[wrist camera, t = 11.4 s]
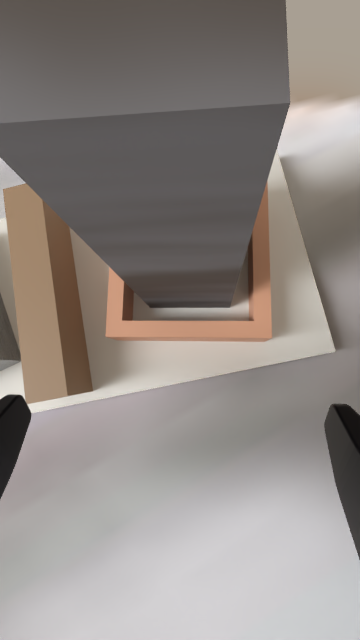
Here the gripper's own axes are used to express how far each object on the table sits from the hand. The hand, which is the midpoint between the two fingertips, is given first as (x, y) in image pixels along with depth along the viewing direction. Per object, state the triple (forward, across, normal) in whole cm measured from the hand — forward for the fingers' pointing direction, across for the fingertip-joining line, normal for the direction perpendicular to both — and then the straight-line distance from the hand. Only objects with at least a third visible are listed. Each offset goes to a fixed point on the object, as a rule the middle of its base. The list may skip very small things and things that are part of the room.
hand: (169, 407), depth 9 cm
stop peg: (+10, 0, 0) cm, 10 cm away
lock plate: (+10, +7, +2) cm, 12 cm away
